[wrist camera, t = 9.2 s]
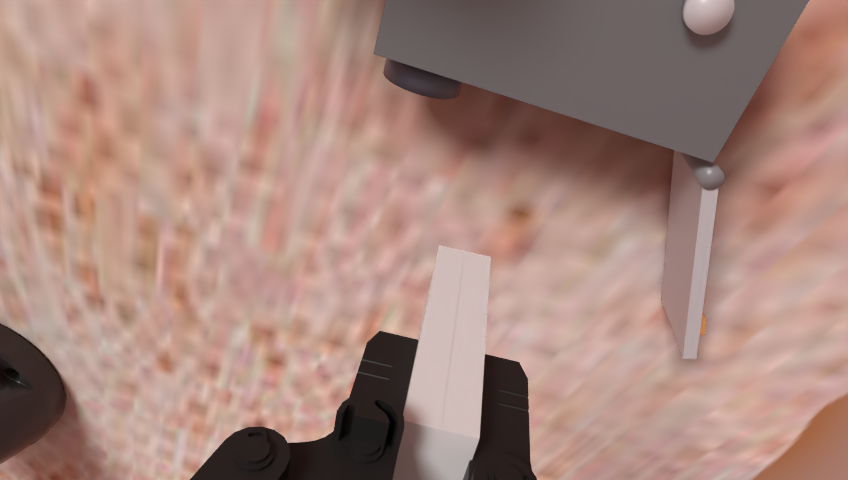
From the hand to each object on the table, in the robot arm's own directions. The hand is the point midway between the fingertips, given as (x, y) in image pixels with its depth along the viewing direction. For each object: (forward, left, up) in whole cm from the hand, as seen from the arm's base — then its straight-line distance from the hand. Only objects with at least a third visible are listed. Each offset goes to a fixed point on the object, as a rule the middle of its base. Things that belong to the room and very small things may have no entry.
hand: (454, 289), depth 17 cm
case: (+3, +6, -22) cm, 23 cm away
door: (+15, -5, -22) cm, 27 cm away
